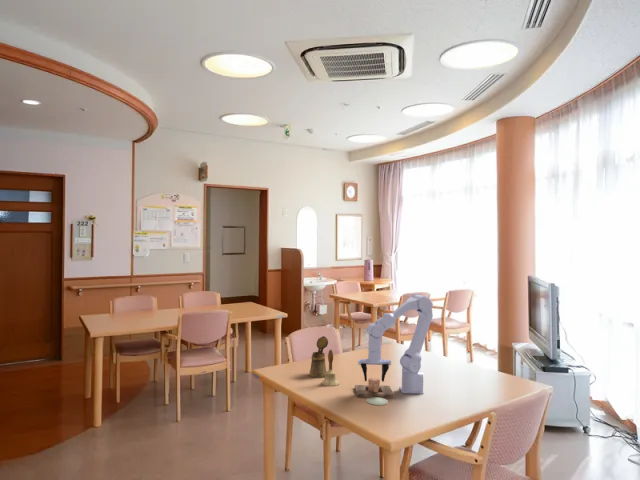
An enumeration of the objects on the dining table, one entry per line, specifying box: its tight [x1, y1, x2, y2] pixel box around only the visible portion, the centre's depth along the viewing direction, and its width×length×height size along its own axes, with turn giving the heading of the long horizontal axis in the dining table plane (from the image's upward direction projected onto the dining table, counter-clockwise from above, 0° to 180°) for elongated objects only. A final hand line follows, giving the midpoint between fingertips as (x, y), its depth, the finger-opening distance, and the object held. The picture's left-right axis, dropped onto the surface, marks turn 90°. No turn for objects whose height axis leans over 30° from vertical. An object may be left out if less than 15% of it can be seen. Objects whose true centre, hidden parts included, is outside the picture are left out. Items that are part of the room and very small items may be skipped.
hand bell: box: [321, 349, 340, 387], centre depth 214 cm, size 8×8×16 cm
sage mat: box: [366, 397, 389, 406], centre depth 191 cm, size 9×9×1 cm
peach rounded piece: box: [367, 377, 381, 392], centre depth 200 cm, size 9×5×6 cm, turn 1°
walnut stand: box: [354, 384, 395, 399], centre depth 202 cm, size 16×12×2 cm
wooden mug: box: [309, 335, 329, 379], centre depth 229 cm, size 9×14×18 cm, turn 163°
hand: (374, 380), depth 202 cm, fingers open, 7 cm apart
